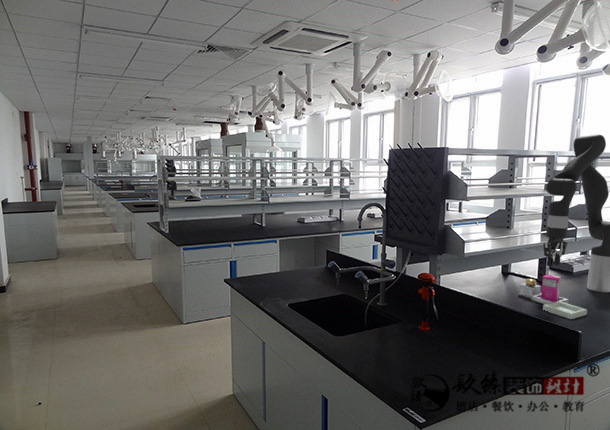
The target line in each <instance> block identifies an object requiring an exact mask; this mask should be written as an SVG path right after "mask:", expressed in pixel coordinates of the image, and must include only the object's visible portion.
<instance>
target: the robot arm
mask: <svg viewBox="0 0 610 430" xmlns="http://www.w3.org/2000/svg"><path fill="white" fill-rule="evenodd" d="M606 146H607V143H606V138H605V136H604V135H602V134H589V135H583V136H577V137H575V139H574V141H573V151H574V152H573V153H574V156H575V157H574V158H573V159H571V160H570V161H569V162H567V163H566V165H565V166H564V167H563V168H562V170H561V171H560V172H558V173H557V174H555V175H553V176H552V177H551V178H550V179H549V180H548V181H547V183H546V186H545V188H546V192H547V193H548V195H551V196H557V197H559V196H560V197H562V198H561V199H560V200H554V201H551V202H550V203H549V208H548V217H547V222H546V231H545V236H546V237H547V238H548V240H547V242H544V243H543V255H544V256H545V257H547V263H546V266H548V267H553V266H560V265H561V257H562V256H564V255H565V253H566V250H567V246H568V241H565V240H564V239H566V238H567V237H568V229H569V214H570V213H569V212H570V206H571V203H572V200H573V199H574V196H575V194H576V191H577V186H578V185H577V181H578V180H579V179H580V178H581V185H582V191H583V196H584V200H585V205H586V214H587V224H588V225H587V226H588V234H589V235H590V237H591V238H592V239H594V240H597V241H602V242H601V245H599V246H598V245H597V246H593V247H591V250H590V258H589V267H588V273H587V274H588V275H587V283H586V284H587V285H586V288H587V290H590V291H593V292H598V293H610V221H606V220H604V219H603V215H602V211H603V207H604V205H605V204H606V202H607V200H608V198H609V186H608V182H607V179H606V178H605V177H604V175H602V173H600V172H599V171H598V170H597V169H596V168H595V167H594V166H593V165H592V164H593V162H594V161H596V160H597V159H598V158H599V157H600V156H601V155H602V154H603V153H604V152H605V149H606Z"/></svg>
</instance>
